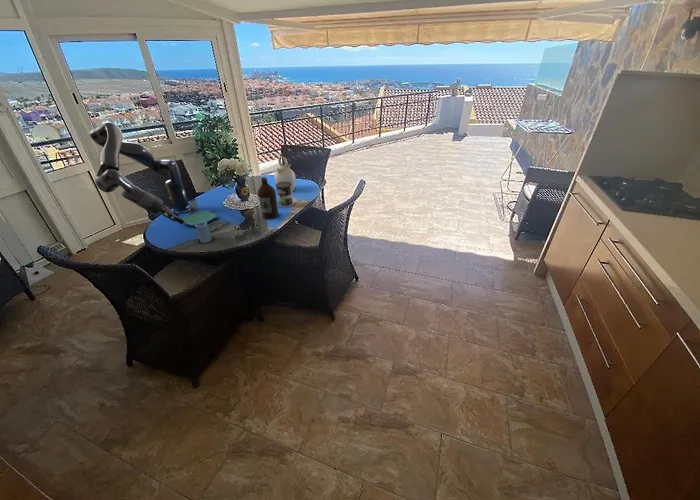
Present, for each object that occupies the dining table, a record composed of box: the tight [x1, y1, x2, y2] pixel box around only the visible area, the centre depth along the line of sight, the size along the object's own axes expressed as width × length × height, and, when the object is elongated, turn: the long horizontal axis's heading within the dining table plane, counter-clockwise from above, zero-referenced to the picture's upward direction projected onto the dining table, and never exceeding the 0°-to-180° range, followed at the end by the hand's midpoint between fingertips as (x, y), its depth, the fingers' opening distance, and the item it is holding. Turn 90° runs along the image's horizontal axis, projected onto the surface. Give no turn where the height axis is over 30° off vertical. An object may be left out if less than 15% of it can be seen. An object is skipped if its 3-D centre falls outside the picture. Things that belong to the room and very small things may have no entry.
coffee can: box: [275, 182, 295, 208], centre depth 197 cm, size 10×10×14 cm
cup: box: [194, 222, 213, 244], centre depth 160 cm, size 6×6×10 cm
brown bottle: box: [257, 176, 279, 220], centre depth 179 cm, size 11×11×25 cm
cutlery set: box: [181, 209, 230, 232], centre depth 180 cm, size 20×30×2 cm, turn 53°
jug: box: [274, 155, 297, 192], centre depth 216 cm, size 15×16×25 cm
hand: (180, 219), depth 150 cm, fingers open, 8 cm apart
